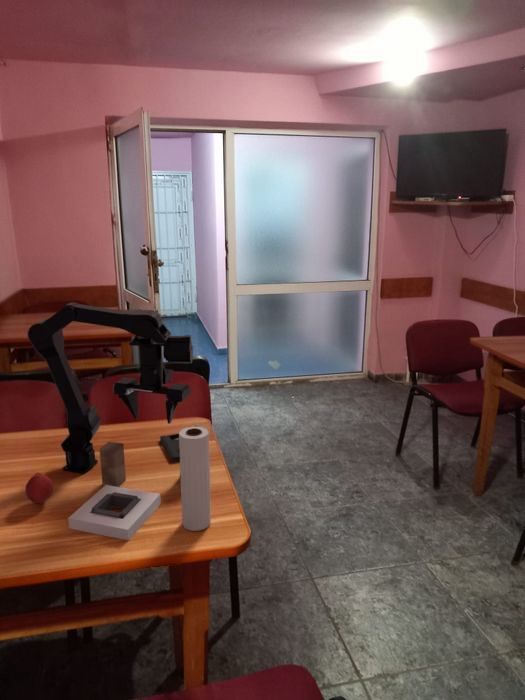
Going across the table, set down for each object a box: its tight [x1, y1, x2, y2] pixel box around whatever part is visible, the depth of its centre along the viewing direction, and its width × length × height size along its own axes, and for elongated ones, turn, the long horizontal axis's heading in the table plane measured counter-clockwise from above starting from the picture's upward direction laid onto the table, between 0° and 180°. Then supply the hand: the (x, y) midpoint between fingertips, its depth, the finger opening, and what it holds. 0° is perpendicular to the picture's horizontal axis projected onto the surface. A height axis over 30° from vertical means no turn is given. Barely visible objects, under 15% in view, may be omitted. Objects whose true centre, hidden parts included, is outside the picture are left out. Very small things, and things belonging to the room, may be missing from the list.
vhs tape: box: [159, 433, 180, 463], centre depth 145 cm, size 14×8×2 cm, turn 23°
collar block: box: [68, 485, 161, 541], centre depth 113 cm, size 14×14×3 cm
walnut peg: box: [99, 441, 127, 487], centre depth 125 cm, size 4×4×10 cm
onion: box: [25, 471, 54, 505], centre depth 117 cm, size 6×6×8 cm
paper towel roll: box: [178, 422, 212, 532], centre depth 109 cm, size 7×6×21 cm
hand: (152, 420), depth 132 cm, fingers open, 9 cm apart
